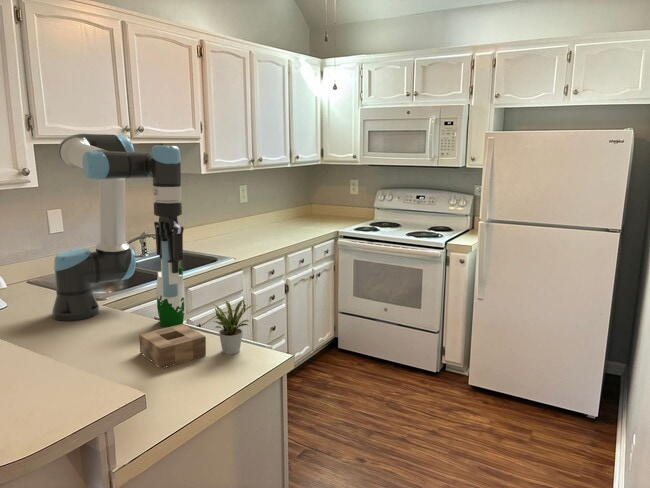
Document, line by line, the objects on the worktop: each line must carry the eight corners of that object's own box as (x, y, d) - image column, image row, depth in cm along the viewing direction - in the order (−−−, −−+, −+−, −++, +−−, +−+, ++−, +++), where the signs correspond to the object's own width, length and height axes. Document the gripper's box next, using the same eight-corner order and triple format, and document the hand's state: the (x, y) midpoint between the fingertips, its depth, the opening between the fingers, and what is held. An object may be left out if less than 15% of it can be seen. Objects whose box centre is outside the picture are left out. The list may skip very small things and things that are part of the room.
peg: (161, 295, 143) (158, 241, 140) (173, 292, 145) (172, 239, 142) (167, 298, 140) (165, 243, 137) (180, 295, 142) (178, 241, 140)
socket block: (140, 353, 146) (139, 334, 145) (183, 341, 156) (182, 323, 155) (161, 368, 136) (160, 348, 135) (205, 355, 146) (205, 336, 145)
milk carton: (185, 326, 170) (184, 270, 166) (158, 328, 166) (156, 271, 163) (183, 317, 178) (182, 264, 174) (157, 320, 174) (155, 265, 171)
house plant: (258, 340, 159) (258, 292, 155) (259, 358, 145) (259, 305, 142) (213, 342, 156) (212, 292, 153) (209, 360, 143) (208, 306, 140)
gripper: (141, 199, 141) (145, 278, 145) (169, 205, 129) (171, 290, 133) (166, 198, 146) (168, 274, 150) (194, 203, 134) (196, 286, 138)
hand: (170, 281), depth 142 cm, fingers closed on peg, 4 cm apart
